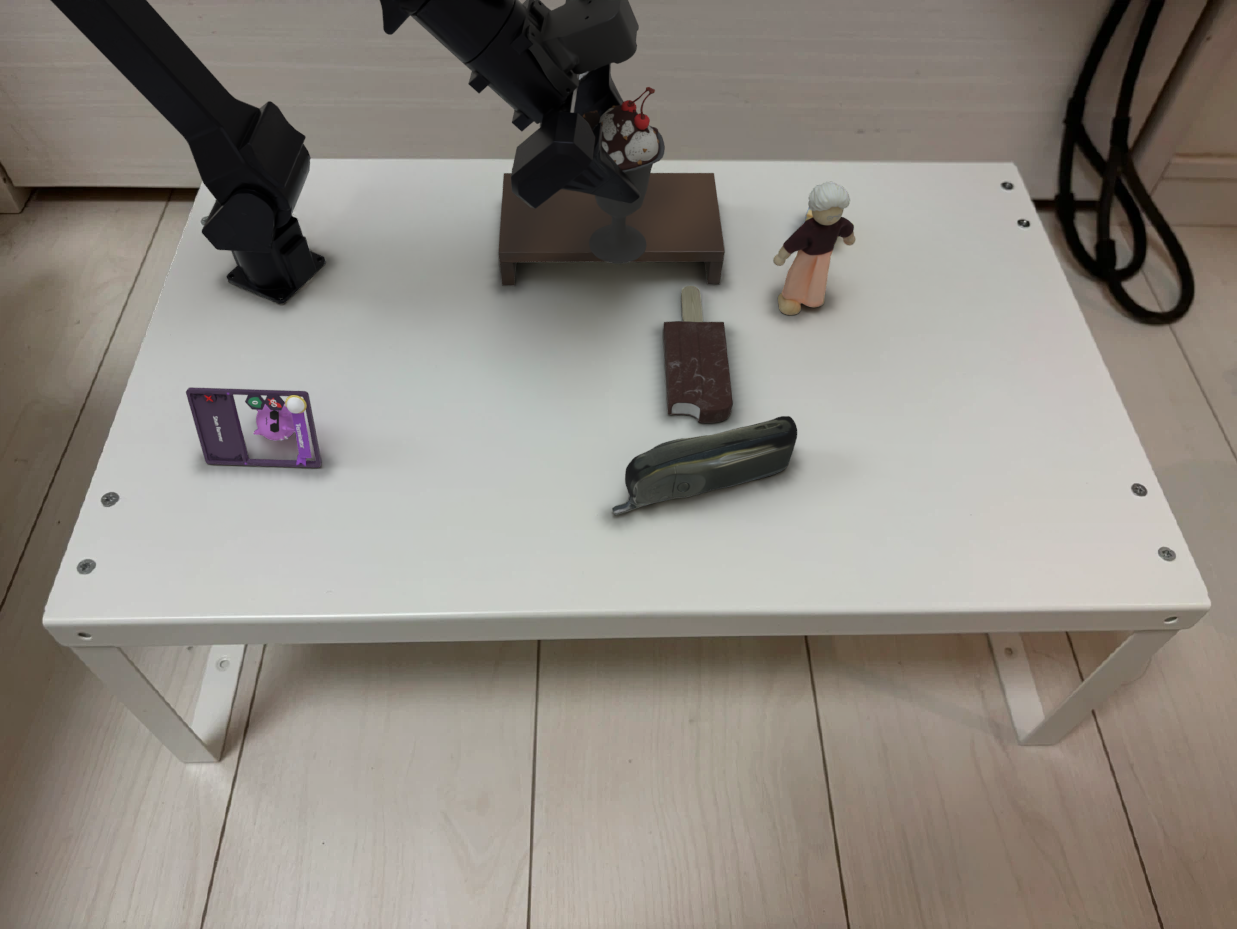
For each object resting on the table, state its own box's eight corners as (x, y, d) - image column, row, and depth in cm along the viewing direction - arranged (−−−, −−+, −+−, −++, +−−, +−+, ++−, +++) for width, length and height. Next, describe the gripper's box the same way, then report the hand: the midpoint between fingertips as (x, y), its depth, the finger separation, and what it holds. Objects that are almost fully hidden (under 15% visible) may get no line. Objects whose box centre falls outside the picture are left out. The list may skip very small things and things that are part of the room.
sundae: (671, 255, 79) (687, 97, 67) (602, 280, 77) (606, 122, 65) (632, 209, 82) (641, 51, 70) (565, 233, 80) (562, 74, 68)
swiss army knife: (789, 405, 71) (605, 455, 68) (807, 435, 69) (619, 487, 66) (777, 444, 75) (603, 493, 72) (794, 473, 73) (616, 524, 70)
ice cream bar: (660, 293, 84) (667, 424, 76) (661, 280, 83) (669, 411, 74) (718, 294, 85) (732, 424, 76) (720, 280, 83) (734, 411, 75)
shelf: (501, 285, 85) (498, 252, 81) (507, 206, 91) (503, 172, 88) (719, 284, 85) (724, 251, 82) (709, 206, 92) (714, 172, 88)
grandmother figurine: (785, 329, 82) (812, 215, 72) (758, 302, 84) (781, 188, 74) (850, 296, 85) (886, 181, 74) (823, 271, 87) (854, 156, 76)
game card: (181, 394, 68) (303, 398, 68) (207, 360, 72) (323, 364, 72) (202, 469, 72) (318, 473, 72) (226, 432, 76) (336, 436, 76)
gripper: (553, 29, 55) (718, 194, 63) (581, -115, 65) (718, 43, 74) (437, 136, 61) (601, 272, 70) (479, -11, 72) (617, 123, 81)
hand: (638, 171), depth 74 cm, fingers closed on sundae, 6 cm apart
